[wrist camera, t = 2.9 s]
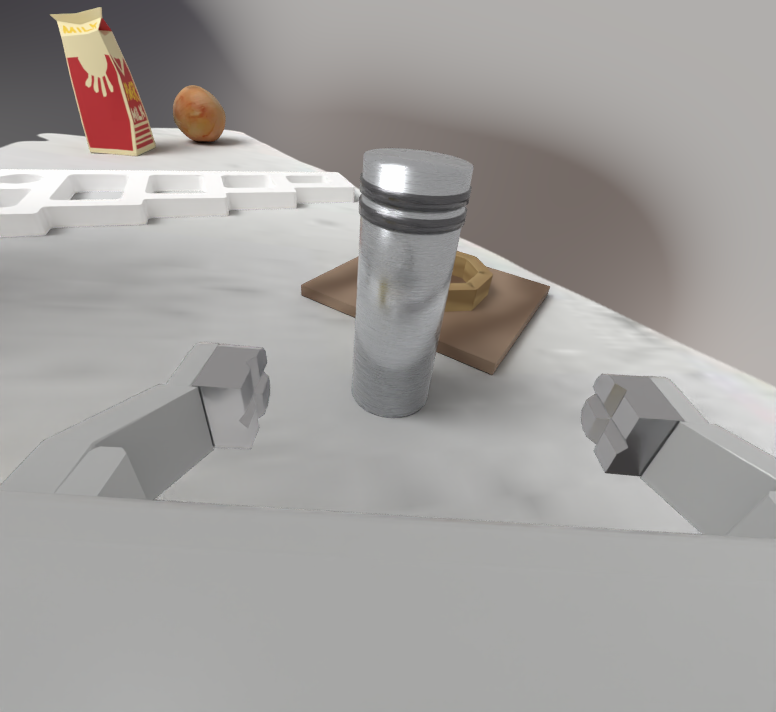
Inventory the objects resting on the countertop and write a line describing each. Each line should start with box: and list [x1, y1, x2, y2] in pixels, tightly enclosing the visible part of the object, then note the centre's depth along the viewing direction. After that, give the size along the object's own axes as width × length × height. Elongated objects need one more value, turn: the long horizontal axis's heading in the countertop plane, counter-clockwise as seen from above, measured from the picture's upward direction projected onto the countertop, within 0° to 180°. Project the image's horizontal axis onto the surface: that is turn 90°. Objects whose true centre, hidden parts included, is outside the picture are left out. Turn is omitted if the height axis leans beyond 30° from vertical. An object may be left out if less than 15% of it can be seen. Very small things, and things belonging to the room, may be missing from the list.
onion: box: [173, 85, 225, 142], centre depth 82 cm, size 10×10×10 cm
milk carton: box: [50, 7, 156, 156], centre depth 67 cm, size 9×9×20 cm
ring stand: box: [301, 251, 550, 375], centre depth 37 cm, size 18×16×3 cm
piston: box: [352, 148, 473, 418], centre depth 22 cm, size 5×5×14 cm
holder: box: [0, 169, 355, 237], centre depth 52 cm, size 45×18×3 cm, turn 112°
